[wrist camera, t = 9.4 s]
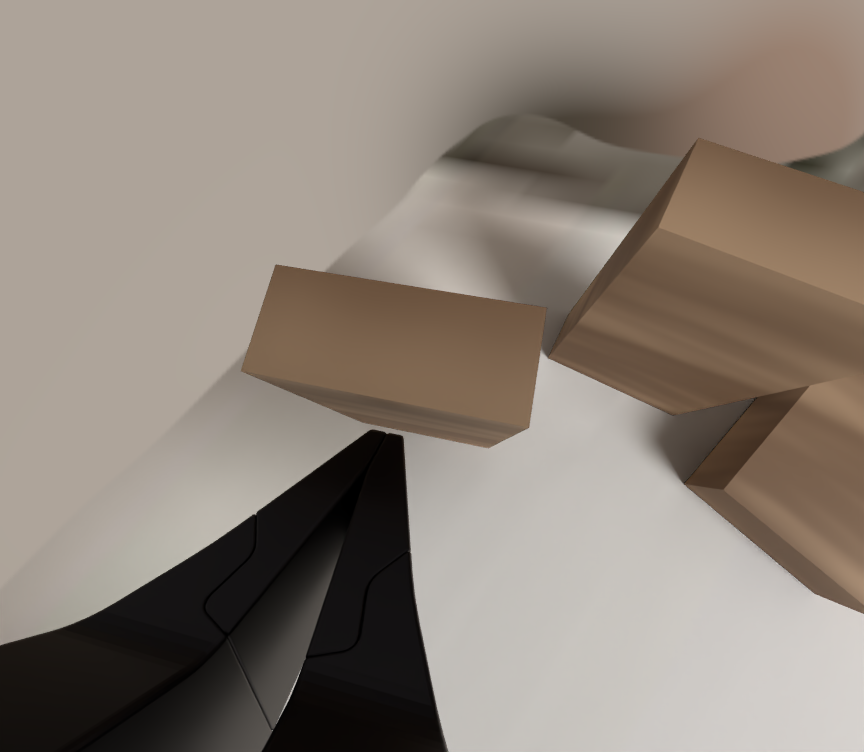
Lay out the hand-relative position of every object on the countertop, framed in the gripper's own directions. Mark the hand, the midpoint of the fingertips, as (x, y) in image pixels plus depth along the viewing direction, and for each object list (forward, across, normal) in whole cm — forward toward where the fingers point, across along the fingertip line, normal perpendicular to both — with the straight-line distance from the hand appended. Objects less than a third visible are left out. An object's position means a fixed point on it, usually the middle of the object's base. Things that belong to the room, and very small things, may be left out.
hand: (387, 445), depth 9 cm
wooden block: (+4, -14, +5) cm, 15 cm away
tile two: (+7, 0, +4) cm, 8 cm away
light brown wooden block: (+10, -8, +2) cm, 13 cm away
